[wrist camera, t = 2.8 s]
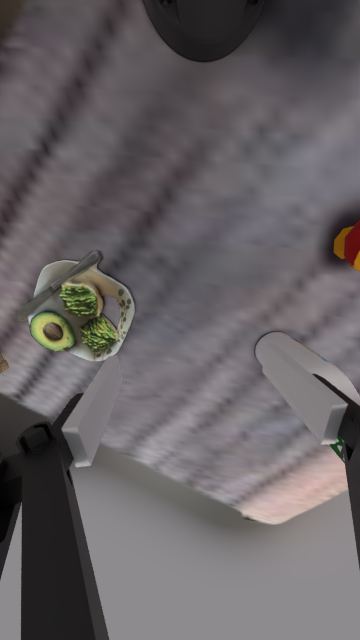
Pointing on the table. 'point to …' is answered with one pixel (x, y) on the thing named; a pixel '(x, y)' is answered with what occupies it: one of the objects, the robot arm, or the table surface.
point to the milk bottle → (308, 361)
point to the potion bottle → (349, 245)
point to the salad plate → (77, 309)
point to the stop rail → (3, 364)
